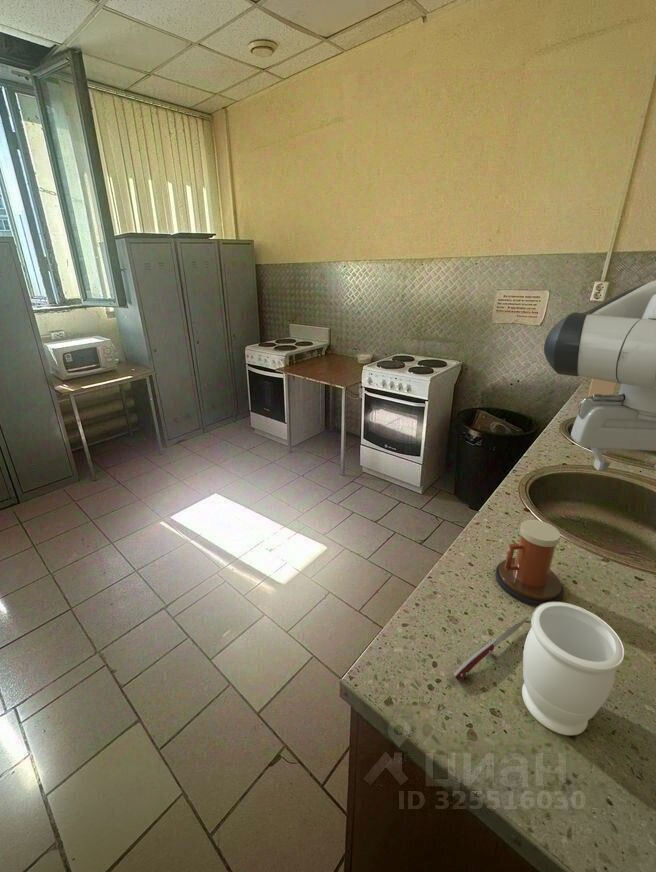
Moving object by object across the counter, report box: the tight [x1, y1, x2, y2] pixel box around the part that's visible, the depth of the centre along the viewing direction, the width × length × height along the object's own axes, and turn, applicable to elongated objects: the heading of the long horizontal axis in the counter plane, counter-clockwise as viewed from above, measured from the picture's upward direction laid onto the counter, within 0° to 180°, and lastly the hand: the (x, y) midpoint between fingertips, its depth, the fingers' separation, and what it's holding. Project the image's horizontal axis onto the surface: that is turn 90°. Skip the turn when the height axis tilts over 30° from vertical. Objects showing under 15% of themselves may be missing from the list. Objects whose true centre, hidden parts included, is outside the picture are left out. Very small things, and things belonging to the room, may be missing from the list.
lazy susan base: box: [494, 561, 564, 607], centre depth 80 cm, size 12×12×1 cm
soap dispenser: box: [587, 378, 618, 400], centre depth 172 cm, size 13×9×22 cm
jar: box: [521, 601, 625, 736], centre depth 56 cm, size 11×10×15 cm
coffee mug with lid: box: [499, 519, 562, 600], centre depth 78 cm, size 11×11×12 cm
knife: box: [452, 616, 529, 682], centre depth 66 cm, size 20×1×3 cm, turn 122°
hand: (630, 470), depth 69 cm, fingers open, 8 cm apart
